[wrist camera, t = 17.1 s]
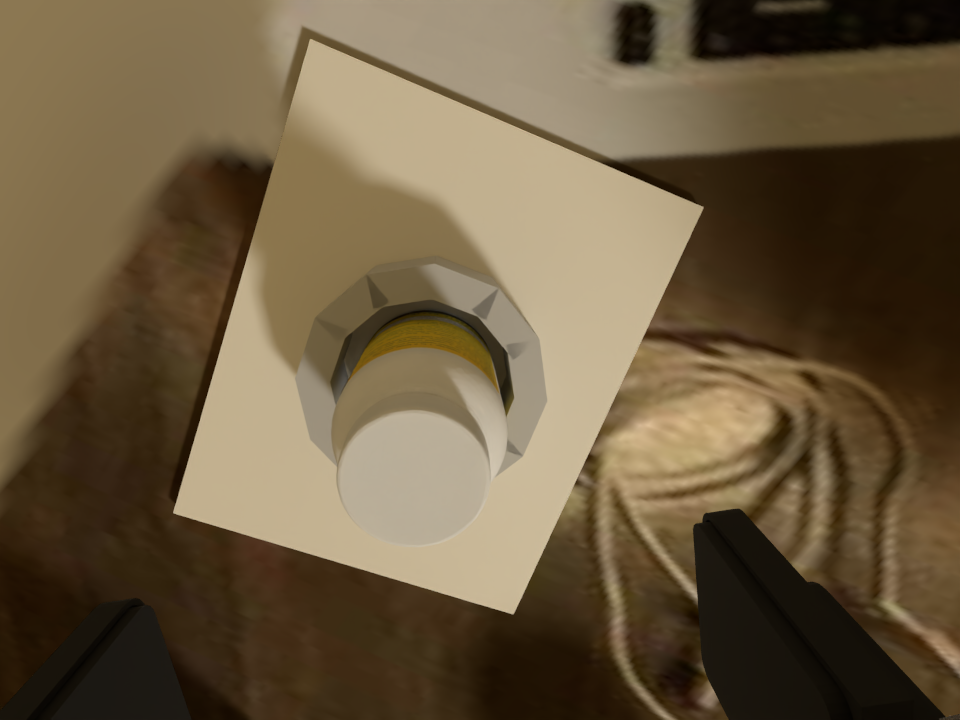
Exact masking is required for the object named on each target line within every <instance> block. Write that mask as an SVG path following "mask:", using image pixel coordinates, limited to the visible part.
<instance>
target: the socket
mask: <svg viewBox="0 0 960 720" xmlns="http://www.w3.org/2000/svg"><path fill="white" fill-rule="evenodd" d="M703 208H704V207H702V206H700V205H697V204H695V203H693V202H690V201H688V200H686V199H683V198H681V197H679V196H676V195H674V194H672V193H669V192H667V191H665V190H662V189H660V188H658V187H655V186H653V185H651V184H648V183H646V182H644V181H641V180H639V179H637V178H634V177H632V176H630V175H627V174H625V173H623V172H620V171H618V170H615V169H613V168H611V167H608V166H606V165H604V164H601V163H599V162H597V161H594V160H592V159H590V158H587V157H585V156H583V155H580V154H578V153H576V152H573V151H571V150H569V149H566V148H564V147H562V146H559V145H557V144H555V143H552V142H550V141H548V140H545V139H543V138H541V137H538V136H536V135H534V134H531V133H529V132H527V131H524V130H522V129H520V128H517V127H515V126H513V125H510V124H508V123H506V122H503V121H501V120H499V119H496V118H494V117H492V116H489V115H487V114H485V113H482V112H480V111H478V110H475V109H473V108H471V107H468V106H466V105H464V104H461V103H459V102H457V101H454V100H452V99H450V98H447V97H445V96H443V95H440V94H438V93H436V92H433V91H431V90H429V89H426V88H424V87H422V86H419V85H417V84H415V83H412V82H410V81H408V80H405V79H403V78H401V77H398V76H396V75H394V74H391V73H389V72H387V71H384V70H382V69H380V68H377V67H375V66H373V65H370V64H368V63H366V62H363V61H361V60H359V59H356V58H354V57H352V56H349V55H347V54H345V53H342V52H340V51H338V50H335V49H333V48H331V47H328V46H326V45H323V44H321V43H319V42H316V41H314V40H312V39H310V41H309V45H308V48H307V52H306V55H305V58H304V62H303V65H302V69H301V72H300V76H299V79H298V83H297V86H296V90H295V93H294V97H293V100H292V103H291V107H290V110H289V114H288V117H287V121H286V124H285V128H284V131H283V135H282V138H281V142H280V145H279V148H278V152H277V155H276V159H275V162H274V166H273V169H272V173H271V176H270V180H269V183H268V187H267V190H266V193H265V197H264V200H263V204H262V207H261V211H260V214H259V218H258V221H257V225H256V228H255V232H254V235H253V238H252V242H251V245H250V249H249V252H248V256H247V259H246V263H245V266H244V270H243V273H242V277H241V280H240V283H239V287H238V290H237V294H236V297H235V301H234V304H233V308H232V311H231V315H230V318H229V321H228V325H227V328H226V332H225V335H224V339H223V342H222V346H221V349H220V353H219V356H218V360H217V363H216V366H215V370H214V373H213V377H212V380H211V384H210V387H209V391H208V394H207V398H206V401H205V405H204V408H203V411H202V415H201V418H200V422H199V425H198V429H197V432H196V436H195V439H194V443H193V446H192V450H191V453H190V456H189V460H188V463H187V467H186V470H185V474H184V477H183V481H182V484H181V488H180V491H179V495H178V498H177V501H176V505H175V508H174V512H173V513H174V514H178V515H181V516H184V517H188V518H191V519H194V520H198V521H201V522H204V523H208V524H211V525H214V526H218V527H221V528H225V529H228V530H231V531H235V532H238V533H241V534H245V535H248V536H251V537H255V538H258V539H262V540H265V541H268V542H272V543H275V544H278V545H282V546H285V547H288V548H292V549H295V550H298V551H302V552H305V553H309V554H312V555H315V556H319V557H322V558H325V559H329V560H332V561H335V562H339V563H342V564H346V565H349V566H352V567H356V568H359V569H362V570H366V571H369V572H372V573H376V574H379V575H382V576H386V577H389V578H393V579H396V580H399V581H403V582H406V583H409V584H413V585H416V586H419V587H423V588H426V589H430V590H433V591H436V592H440V593H443V594H446V595H450V596H453V597H456V598H460V599H463V600H466V601H470V602H473V603H477V604H480V605H483V606H487V607H490V608H493V609H497V610H500V611H503V612H507V613H510V614H514V612H515V610H516V608H517V606H518V604H519V602H520V600H521V597H522V595H523V593H524V591H525V589H526V587H527V585H528V582H529V580H530V578H531V576H532V574H533V572H534V570H535V567H536V565H537V563H538V561H539V559H540V557H541V555H542V552H543V550H544V548H545V546H546V544H547V542H548V540H549V537H550V535H551V533H552V531H553V529H554V527H555V525H556V522H557V520H558V518H559V516H560V514H561V512H562V510H563V507H564V505H565V503H566V501H567V499H568V497H569V495H570V493H571V490H572V488H573V486H574V484H575V482H576V480H577V478H578V475H579V473H580V471H581V469H582V467H583V465H584V463H585V460H586V458H587V456H588V454H589V452H590V450H591V448H592V445H593V443H594V441H595V439H596V437H597V435H598V433H599V430H600V428H601V426H602V424H603V422H604V420H605V418H606V415H607V413H608V411H609V409H610V407H611V405H612V403H613V400H614V398H615V396H616V394H617V392H618V390H619V388H620V386H621V383H622V381H623V379H624V377H625V375H626V373H627V371H628V368H629V366H630V364H631V362H632V360H633V358H634V356H635V353H636V351H637V349H638V347H639V345H640V343H641V341H642V338H643V336H644V334H645V332H646V330H647V328H648V326H649V323H650V321H651V319H652V317H653V315H654V313H655V311H656V308H657V306H658V304H659V302H660V300H661V298H662V296H663V293H664V291H665V289H666V287H667V285H668V283H669V281H670V279H671V276H672V274H673V272H674V270H675V268H676V266H677V264H678V261H679V259H680V257H681V255H682V253H683V251H684V249H685V246H686V244H687V242H688V240H689V238H690V236H691V234H692V231H693V229H694V227H695V225H696V223H697V221H698V219H699V216H700V214H701V212H702V210H703ZM418 309H437V310H443V311H446V312H449V313H452V314H455V315H457V316H459V317H461V318H463V319H464V320H466V321H467V322H468V323H470V324H471V325H472V326H473V327H474V328H475V329H476V330H477V331H478V332H479V333H480V334H481V336H482V337H483V339H484V340H485V342H486V344H487V346H488V348H489V350H490V353H491V356H492V359H493V363H494V367H495V372H496V376H497V381H498V385H499V389H500V394H501V398H502V402H503V406H504V410H505V414H506V419H507V428H508V439H507V447H506V452H505V456H504V460H503V462H502V465H501V467H500V469H499V471H498V473H497V474H496V476H495V478H494V479H493V481H492V482H491V484H490V489H489V494H488V497H487V500H486V502H485V505H484V507H483V509H482V510H481V512H480V514H479V515H478V517H477V518H476V519H475V520H474V521H473V522H472V523H471V524H470V525H469V526H468V527H467V528H466V529H465V530H464V531H462V532H461V533H460V534H458V535H457V536H455V537H453V538H451V539H449V540H447V541H445V542H442V543H439V544H435V545H430V546H424V547H402V546H396V545H392V544H388V543H386V542H383V541H380V540H378V539H376V538H374V537H372V536H371V535H369V534H368V533H366V532H365V531H364V530H362V529H361V528H360V527H359V526H358V525H357V524H356V523H355V522H354V521H353V520H352V519H351V518H350V516H349V515H348V513H347V512H346V510H345V508H344V506H343V504H342V502H341V499H340V496H339V493H338V488H337V481H336V480H337V479H336V475H337V465H338V464H337V462H336V459H335V456H334V453H333V447H332V439H331V427H332V419H333V414H334V410H335V407H336V405H337V402H338V400H339V397H340V394H341V392H342V390H343V388H344V386H345V384H346V383H347V381H348V379H349V377H350V376H351V374H352V372H353V370H354V368H355V366H356V365H357V363H358V361H359V359H360V357H361V355H362V354H363V352H364V350H365V348H366V346H367V344H368V343H369V341H370V340H371V338H372V337H373V335H374V334H375V333H376V332H377V331H378V330H379V329H380V328H381V327H382V326H383V325H384V324H385V323H387V322H388V321H389V320H391V319H393V318H394V317H396V316H398V315H400V314H403V313H406V312H409V311H413V310H418Z"/></svg>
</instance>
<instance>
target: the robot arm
mask: <svg viewBox="0 0 960 720" xmlns="http://www.w3.org/2000/svg"><path fill="white" fill-rule="evenodd" d="M693 535H694V550H695V565H696V580H697V594H698V609H699V624H700V638H701V653H702V660H703V665H704V668H705V672H706V675H707V677H708V679H709V682H710V684H711V686H712V688H713V689H714V691H715V693H716V695H717V697H718V699H719V701H720V703H721V705H722V707H723V709H724V711H725V713H726V715H727V717H728V719H729V720H960V714H958V715H954V716H949V717H945V716H944V715H943V714H942V712H941V711H940V710H939V709H938V708H937V707H936V706H935V705H934V704H933V703H932V702H931V701H930V700H929V699H928V698H927V696H926V695H925V694H924V693H923V692H922V691H921V690H920V689H919V688H918V687H917V686H916V685H915V684H914V683H913V682H912V681H911V679H910V678H909V677H908V676H907V675H906V674H905V673H904V672H903V671H902V670H901V669H900V668H899V667H898V666H897V665H896V663H895V662H894V661H893V660H892V659H891V658H890V657H889V656H888V655H887V654H886V653H885V652H884V651H883V650H882V649H881V648H880V646H879V645H878V644H877V643H876V642H875V641H874V640H873V639H872V638H871V637H870V636H869V635H868V634H867V633H866V632H865V630H864V629H863V628H862V627H861V626H860V625H859V624H858V623H857V622H856V621H855V620H854V619H853V618H852V617H851V616H850V615H849V613H848V612H847V611H846V610H845V609H844V608H843V607H842V606H841V605H840V604H839V603H838V602H837V601H836V600H835V599H834V597H833V596H832V595H831V594H830V593H829V592H828V591H827V590H826V589H825V588H823V587H822V586H821V585H820V584H818V583H815V582H806V581H805V579H804V578H803V577H802V576H801V575H800V574H799V573H798V572H797V571H796V569H795V568H794V567H793V566H792V565H791V564H790V563H789V562H788V561H787V560H786V558H785V557H784V556H783V555H782V554H781V553H780V552H779V551H778V550H777V549H776V547H775V546H774V545H773V544H772V543H771V542H770V541H769V540H768V539H767V538H766V536H765V535H764V534H763V533H762V532H761V531H760V530H759V529H758V528H757V526H756V525H755V524H754V523H753V522H752V521H751V520H750V519H749V518H748V517H747V515H746V514H745V513H744V512H743V511H742V510H740V509H731V510H724V511H717V512H711V513H705V514H704V516H703V523H697V524H695V525H694V528H693ZM0 720H191V717H190V714H189V711H188V708H187V705H186V702H185V699H184V696H183V693H182V690H181V688H180V685H179V682H178V679H177V676H176V673H175V670H174V667H173V664H172V661H171V658H170V656H169V653H168V650H167V647H166V644H165V641H164V638H163V635H162V632H161V629H160V626H159V624H158V621H157V618H156V615H155V612H154V610H153V609H152V608H151V607H150V606H147V605H144V603H143V602H142V601H141V600H140V599H136V598H133V599H126V600H120V601H113V602H106V603H102V604H99V605H98V606H97V607H96V608H95V609H94V610H93V611H92V612H91V613H90V614H89V615H88V616H87V617H86V618H85V619H84V620H83V622H82V623H81V624H80V625H79V626H78V627H77V628H76V629H75V630H74V631H73V632H72V633H71V635H70V636H69V637H68V638H67V639H66V640H65V641H64V642H63V643H62V644H61V645H60V646H59V648H58V649H57V650H56V651H55V652H54V653H53V654H52V655H51V656H50V657H49V658H48V659H47V660H46V662H45V663H44V664H43V665H42V666H41V667H40V668H39V669H38V670H37V671H36V672H35V673H34V675H33V676H32V677H31V678H30V679H29V680H28V681H27V682H26V683H25V684H24V685H23V686H22V688H21V689H20V690H19V691H18V692H17V693H16V694H15V695H14V696H13V697H12V698H11V699H10V701H9V702H8V703H7V704H6V705H5V706H4V707H3V708H2V709H1V710H0Z"/></svg>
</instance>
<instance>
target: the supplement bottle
mask: <svg viewBox="0 0 960 720" xmlns="http://www.w3.org/2000/svg"><path fill="white" fill-rule="evenodd" d="M331 439H332V447H333V453H334V456H335V459H336V462H337V464H338V465H337V475H336V479H337V480H336V481H337V488H338V493H339V496H340V499H341V502H342V504H343V506H344V508H345V510H346V512H347V513H348V515H349V516H350V518H351V519H352V520H353V521H354V522H355V523H356V524H357V525H358V526H359V527H360V528H361V529H362V530H364V531H365V532H366V533H368V534H369V535H371V536H372V537H374V538H376V539H378V540H380V541H383V542H386V543H388V544H392V545H396V546H402V547H424V546H430V545H435V544H439V543H442V542H445V541H447V540H449V539H451V538H453V537H455V536H457V535H458V534H460V533H461V532H462V531H464V530H465V529H466V528H467V527H468V526H469V525H470V524H471V523H472V522H473V521H474V520H475V519H476V518H477V517H478V515H479V514H480V512H481V510H482V509H483V507H484V505H485V502H486V500H487V497H488V494H489V489H490V484H491V482H492V481H493V479H494V478H495V476H496V474H497V473H498V471H499V469H500V467H501V465H502V462H503V460H504V456H505V452H506V447H507V439H508V428H507V419H506V414H505V410H504V406H503V402H502V398H501V394H500V389H499V385H498V381H497V376H496V372H495V367H494V363H493V359H492V356H491V353H490V350H489V348H488V346H487V344H486V342H485V340H484V339H483V337H482V336H481V334H480V333H479V332H478V331H477V330H476V329H475V328H474V327H473V326H472V325H471V324H470V323H468V322H467V321H466V320H464V319H463V318H461V317H459V316H457V315H455V314H452V313H449V312H446V311H443V310H437V309H418V310H413V311H409V312H406V313H403V314H400V315H398V316H396V317H394V318H393V319H391V320H389V321H388V322H387V323H385V324H384V325H383V326H382V327H381V328H380V329H379V330H378V331H377V332H376V333H375V334H374V335H373V337H372V338H371V340H370V341H369V343H368V344H367V346H366V348H365V350H364V352H363V354H362V355H361V357H360V359H359V361H358V363H357V365H356V366H355V368H354V370H353V372H352V374H351V376H350V377H349V379H348V381H347V383H346V384H345V386H344V388H343V390H342V392H341V394H340V397H339V400H338V402H337V405H336V407H335V410H334V414H333V419H332V427H331Z"/></svg>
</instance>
